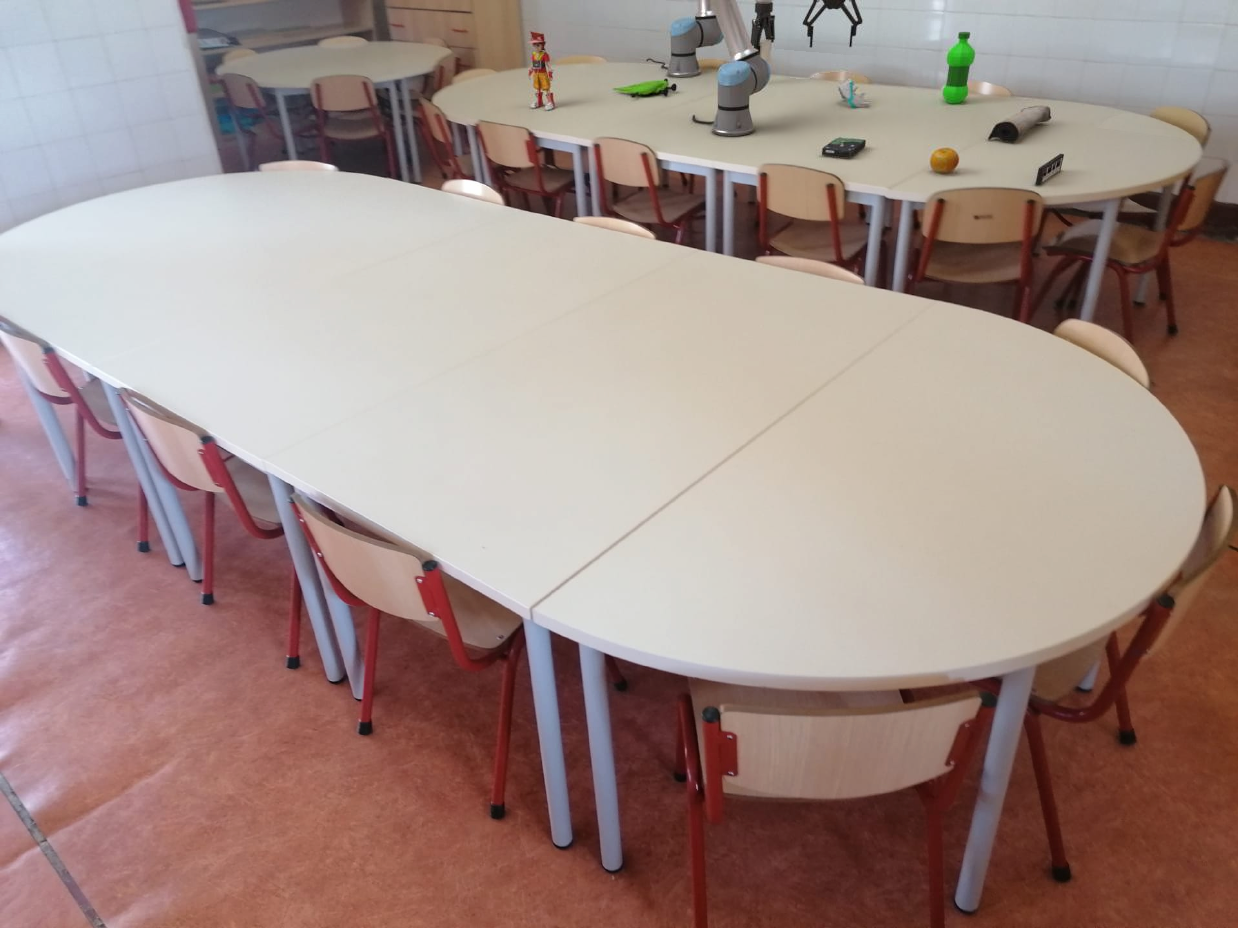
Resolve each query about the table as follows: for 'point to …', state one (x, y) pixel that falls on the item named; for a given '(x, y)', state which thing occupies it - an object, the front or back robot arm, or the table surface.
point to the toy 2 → (648, 88)
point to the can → (765, 49)
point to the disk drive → (843, 147)
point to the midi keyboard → (1049, 169)
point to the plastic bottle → (958, 69)
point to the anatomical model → (851, 94)
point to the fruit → (944, 160)
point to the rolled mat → (1020, 123)
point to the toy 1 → (541, 71)
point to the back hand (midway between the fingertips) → (762, 60)
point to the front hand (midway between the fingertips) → (830, 47)
